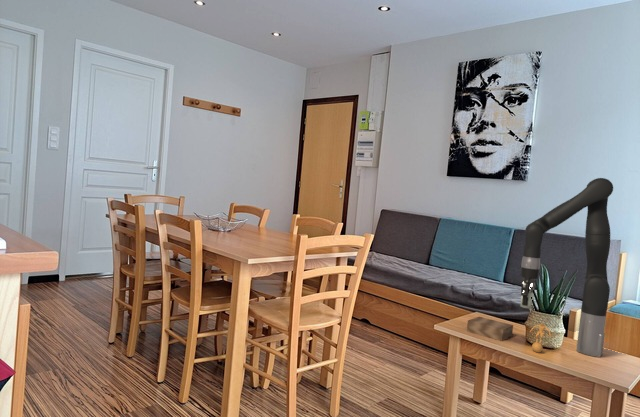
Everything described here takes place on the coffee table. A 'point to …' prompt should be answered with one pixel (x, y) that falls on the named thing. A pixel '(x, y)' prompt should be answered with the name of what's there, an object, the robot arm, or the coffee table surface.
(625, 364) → the coffee table surface
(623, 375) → the coffee table surface
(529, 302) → the sage canister
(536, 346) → the figurine
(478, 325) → the walnut box
